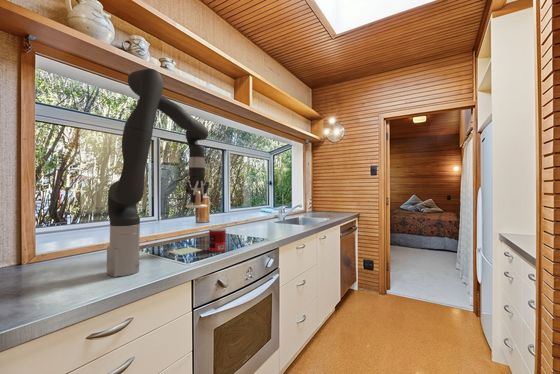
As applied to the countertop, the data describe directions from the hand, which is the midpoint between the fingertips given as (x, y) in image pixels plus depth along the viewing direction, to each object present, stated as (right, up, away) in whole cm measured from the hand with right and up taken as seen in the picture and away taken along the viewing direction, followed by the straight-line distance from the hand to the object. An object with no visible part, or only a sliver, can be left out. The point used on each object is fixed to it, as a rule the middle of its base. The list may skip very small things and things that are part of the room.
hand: (196, 202), depth 123 cm
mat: (-5, -24, -1) cm, 24 cm away
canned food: (+10, -24, +1) cm, 26 cm away
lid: (0, -2, 0) cm, 2 cm away
